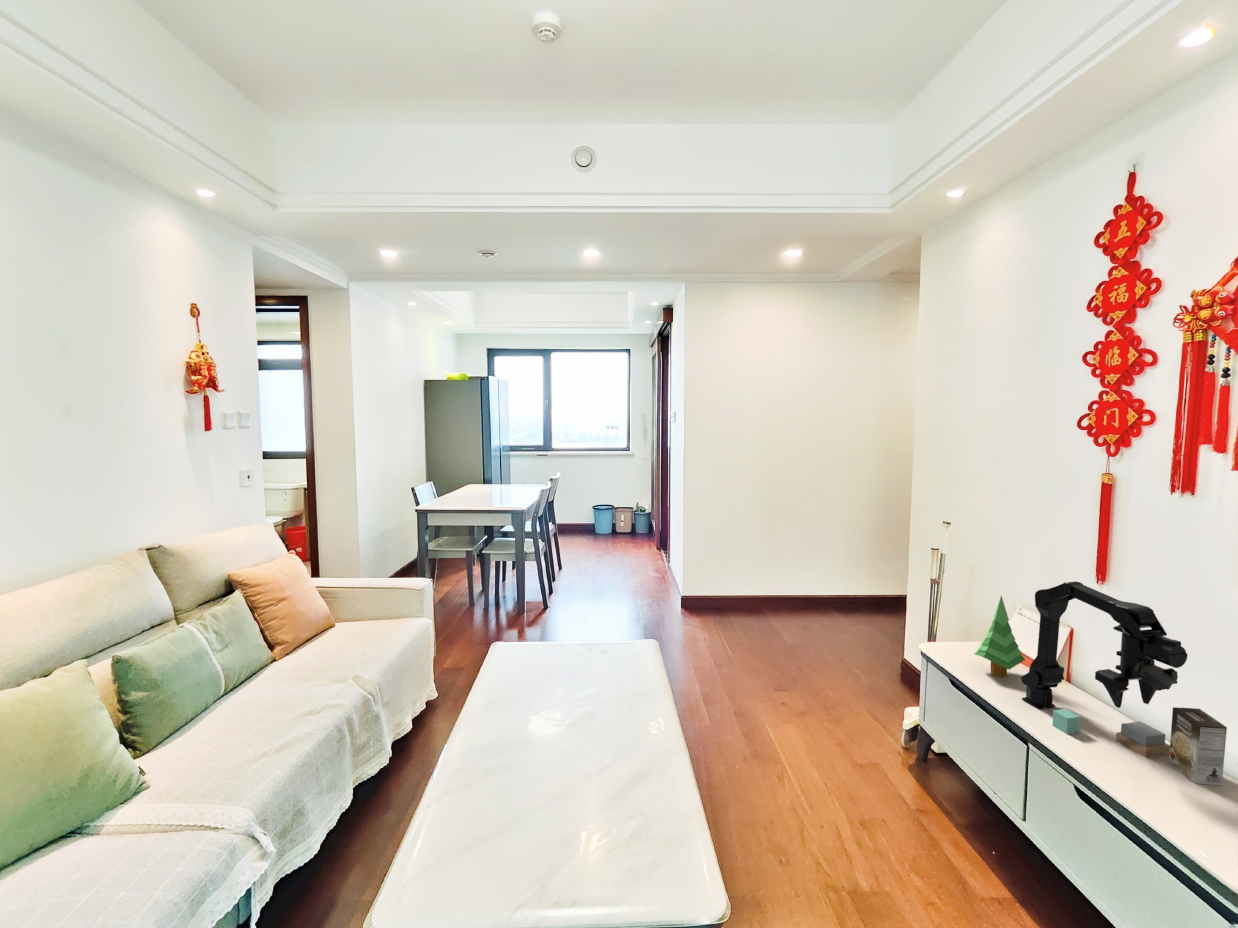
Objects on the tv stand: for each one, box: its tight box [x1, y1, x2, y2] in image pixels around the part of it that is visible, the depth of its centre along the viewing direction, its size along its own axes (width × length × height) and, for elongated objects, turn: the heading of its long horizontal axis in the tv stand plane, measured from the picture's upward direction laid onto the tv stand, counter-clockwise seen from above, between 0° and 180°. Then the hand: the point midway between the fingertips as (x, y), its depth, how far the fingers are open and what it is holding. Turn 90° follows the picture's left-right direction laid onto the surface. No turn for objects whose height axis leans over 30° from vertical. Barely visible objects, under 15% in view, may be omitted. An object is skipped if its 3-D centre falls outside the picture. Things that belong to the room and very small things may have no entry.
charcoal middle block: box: [1120, 720, 1166, 747], centre depth 157 cm, size 6×6×3 cm
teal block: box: [1052, 708, 1081, 735], centre depth 167 cm, size 4×4×5 cm
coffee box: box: [1168, 706, 1228, 786], centre depth 145 cm, size 9×6×16 cm
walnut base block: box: [1115, 731, 1170, 759], centre depth 157 cm, size 8×8×3 cm
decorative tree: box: [974, 595, 1026, 678], centre depth 201 cm, size 14×16×30 cm
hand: (1131, 705), depth 153 cm, fingers open, 9 cm apart
